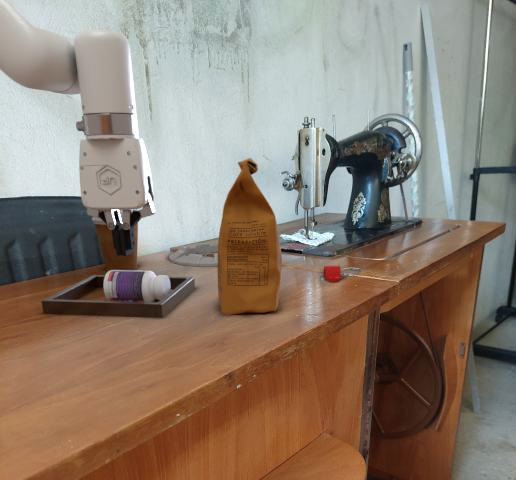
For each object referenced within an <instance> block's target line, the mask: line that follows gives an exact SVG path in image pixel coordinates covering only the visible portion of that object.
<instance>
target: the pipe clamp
mask: <svg viewBox="0 0 516 480" xmlns="http://www.w3.org/2000/svg"><path fill="white" fill-rule="evenodd" d="M341 271H342V270H341V266H340V265H324V266H323V276H325V277H324V278H325V281H327V282H329V283H339V282H340V281H341V279H342V272H341Z"/></svg>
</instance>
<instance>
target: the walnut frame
mask: <svg viewBox="0 0 516 480" xmlns="http://www.w3.org/2000/svg"><path fill="white" fill-rule="evenodd" d="M105 275H106V274H92V275H90V276H89V277H87V278H85V279H82V280H81V281H79V282H76V283H74V284H73V285H71V286H68V287H67V288H64V289H62V290H61V291H59V292H56V293H54V294H53V295H50V296H48V297H46V298H44V299H42V300H41V306H42V307H41V308H42V313H43V315H64V316H90V317H91V316H92V317H93V316H95V317H120V318H121V317H123V318H147V319H148V318H150V319H163V318H165V317H166V316H167V315H168V314H169V313H170V312H171V311H173V309H175V307H176V306H178V305H179V304H180V303H181V302H182V301H183V300H184V299H185V298H187V297H188V296H189V295H190V294H191V293H192V292H193V291H194V290H195V289H196V281H195V277H194V276H168V277H169V280H170V286H171V289H170V293H169V294H167V295H166V296H165V297H164V298H162V299H161V300H158V301H157V302H156V301H154V302H125V301H107V300H91V299H90V300H85V299H79V298H81V297H83V296H85V295H87V294H89V293H90V292H92V291H94V290H95V289H97V288H98V289H99V288H100V289H101V288H102V289H104V287H103V283H104V278H105Z"/></svg>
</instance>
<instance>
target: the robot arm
mask: <svg viewBox="0 0 516 480" xmlns="http://www.w3.org/2000/svg"><path fill="white" fill-rule="evenodd" d="M131 51H132V50H131V45H130V41H129V39H128V38H127V36H126V35H125V34H123V33H122V32H119V31H117V30H114V29H108V28H107V29H104V28H91V29H84V30H81V31H78V32H77V34H76V35H75V36H74V38H72V37H68V36H66V35H65V36H64V35H60V34H59V33H56V32H53V31H50V30H46V29H43V28H40V27H36V26H34V25H33V24H32V23H30V21H29V20H28V19H26V17H25V16H24V15H22V13H21V12H20V11H19V10H18V9H17V8H16V7H15V6H14V5H13V4H12V3H11V2H10V1H9V0H0V71H1V72H2V73H3V74H5V75H6V76H7V77H8V78H9V79H10V80H12V81H13V82H15V83H16V84H18V85H20V86H22V87H24V88H27V89H30V90H31V89H32V90H38V91H43V92H44V91H45V92H51V93H55V94H61V95H70V96H71V95H80V102H81V110H82V116H81V120H80V121H79V120H78V121H76V122H75V127H76V131H78V132H83V135H84V136H85V139H80V143H79V153H78V170H79V171H78V173H79V187H80V198H81V202H82V205H83V206H84V208H86V214H87V215H88V216H89V217H92V218H93V217H97V218H101V219H102V220H103V221H104V222H105V223H106V224H107V225H108V228H109V229H110V230H112V237H113V246H114V249H116V254H117V256H121V255H123V256H128V255H130V254H132V253H133V252H134V249H135V236H134V227H135V226H136V224H137V223H138V224H139V222H140V221H141V220H142V219H144V218H147V217H151V216H154V215H155V214H156V209H155V206H154V201H155V194H154V184H153V177H152V170H151V165H150V160H149V157H148V151H147V148H146V144H145V142H144V139H143V138H140V137H139V128H138V127H139V126H138V117H137V107H136V97H135V96H136V95H135V85H134V73H133V64H132V63H133V62H132V52H131ZM119 210H123V215H122V220H121V216H120V212H119Z"/></svg>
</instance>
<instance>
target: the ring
mask: <svg viewBox="0 0 516 480" xmlns="http://www.w3.org/2000/svg"><path fill="white" fill-rule="evenodd" d="M203 253H215V254H213V257H203ZM169 262H171V263H173V264H175V265H181V266H187V267H218V245H217V246H215V245H214V246H213V245H212V246H211V243H197V244H196V246H195V247H194V248H193V247H192V248H191V246H190V245H187V246H183V247H181V248H179V249H177V250H175V252H173V253H172V254H170V255H169Z"/></svg>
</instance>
